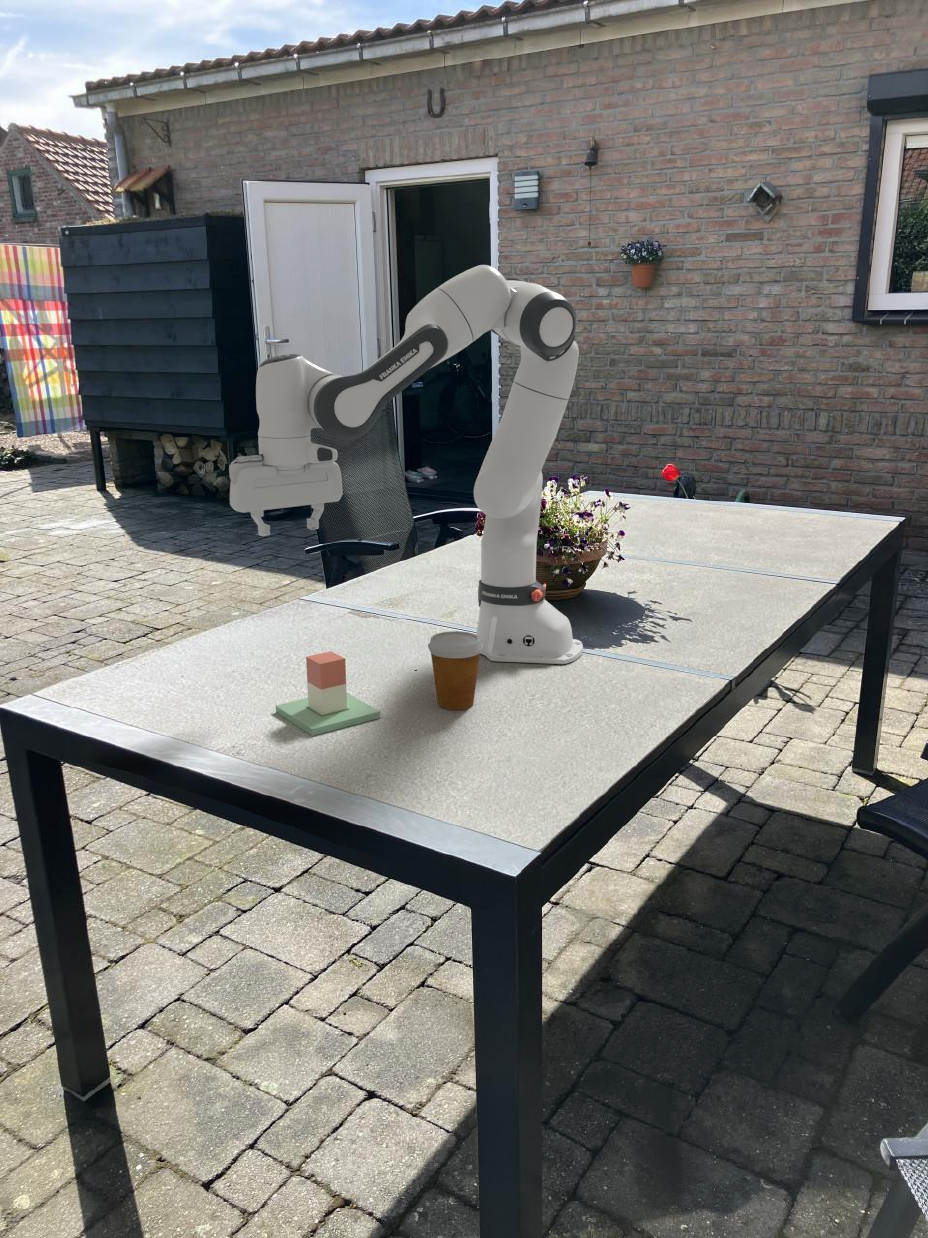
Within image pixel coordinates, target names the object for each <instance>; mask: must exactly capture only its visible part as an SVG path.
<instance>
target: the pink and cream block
mask: <svg viewBox="0 0 928 1238" xmlns="http://www.w3.org/2000/svg"><path fill="white" fill-rule="evenodd" d="M305 660H306V661H305V662H306V682H307V683H306V685H307V698H308V707H310V708H312V709H313V710H315V711H317V712H318V713H320V714H321V715H324V714H328V713H332V712H336V711H340V710H344V709H347V693H348V692H347V675H346V674H347V672H346V671H347V670H346V668H347V667H346V666H347V665H346V658H345V657H343V656H341V655H339V654H337V653H335V652H333V651H327V652H325V651H324V652H321V653H318V654H313V655H308V656H305Z"/></svg>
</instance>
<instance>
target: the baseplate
mask: <svg viewBox="0 0 928 1238" xmlns="http://www.w3.org/2000/svg"><path fill="white" fill-rule="evenodd" d="M346 693H347V709H344V710H340V711H336V712H332V713H328V714H324V715H321V714H320V713H318V712H317V711H315V710H313V709H312V708H310V707H308V697H306V698H301V699H297V700H292V701H289V702H284V703H280V704H276V705H275V713H277V714H279V715H280V716H281V717H283V718H285V719H286V720H287V721H289V722H290V723H292V724H294V725H295V726H297V727H298V728H299V729H302V730H303V731H304V732H306V733H307V734H309V735H310V736H312V737H314V736H317V735H318V736H319V735H321V734H326V733H328V732H332V731H333V732H334V731H336V730H337V731H338V730H340V729H344V728H348V727H351V726H352V727H353V726H355V725H358V724H362V723H366V722H367V723H368V722H371V721H373V720H378V719H381V711H380V710H379V709H377V708H375V707H373V706H371V705H369V704H368V703H366V702H364V701H362V700H360V699H359V698H357V697H355V696H354V695H351V694H350V693H348V692H346Z"/></svg>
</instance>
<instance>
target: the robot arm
mask: <svg viewBox="0 0 928 1238" xmlns="http://www.w3.org/2000/svg"><path fill="white" fill-rule="evenodd" d="M404 327H405V328H404V329H405V330H404V335H403V336H402V338H401V340H400V341H399V342H398V343H397V344H396V345H395V346H394V347H393V348H391V349H390V350H389V351H388V352H386V353H385V354H383V355H382V356H381V357H379V359H376V360H375V361H374V362H373V363H372V364H371V365H369V366H368V367H367V368H365V369H364V370H362V371H361V372H358V373H356V374H352V375H345V376H343V374H339V373H335V372H332V371H330V370H326V369H324V368H322V367H321V366H318V365H316V364H314V363H313V362H311V361H309V360H308V359H306V358H305V357H304V356H303V355H302V354H298V353H289V354H282V355H278V356H277V355H276V356H273V357H270V358H267V359H264V361H262V362H261V363H260V364H259V366H258V369H257V371H256V378H255V380H256V382H255V383H256V384H255V398H256V399H255V402H256V413H257V415H258V419H259V426H258V427H259V428H258V430H257V431H258V432H257V436H258V438H257V439H258V454H255V455H253V454H252V455H247V456H244V455H243V456H241V455H239V456H237V457H236V458H235V459H234V460H232V461H231V462H230V464H229V467H228V474H229V479H230V484H229V486H230V487H229V505H230V507H231V508H232V510H234V511H235V512H238V513H250V517H251V518H252V519H253V521H254V522H255V524H256V525H257V534H258V536H261V537H267V536H270V535H271V531H270V530H271V525H269V524H267V523H265V522H264V521H263V519H262V518H263V517H264V516H265V515H264V511H267V510H276V509H285V508H293V507H302V506H311V509H313V511H312V514H311V516H310V517H309V518H306V527H307V528H306V529H308V530H310V531H311V530H318V529H319V528H320V523H319V522H320V519H321V517H322V514H323V512H324V510H325V504H326V503H327V504H328V503H336V502H337V503H338V502H339V501H340V500H341V498H342V496H343V480H342V479H343V478H342V472H341V468H340V466H339V464H338V463H337V462H335V461H337V460H338V457H339V456H338V451H337V449H336V448H333V447H330V446H326V445H322V444H320V443H318V442H314V441H312V437H311V431H312V429H317V428H318V429H319V428H321V429H322V430H324V432H325V433H326V434H328V435H329V436H330V437H332V438H334V439H337V440H338V439H339V440H341V441H351V440H355V439H358V438H361V437H362V436H364V435H365V434H367V433H368V432H369V431H370V430H371V429H372V428H373V426H374V425H375V423H376V421H377V419H378V418H379V417H380V414H381V413H382V411H383V409H385V407H386V406H387V405H388V403H389V402H390V401H392V400H393V399H394V398H395V397H396V396H397V395H399V394H400V393H402V391H404V390H406V388H407V387H409V386H410V385H412V384H413V382H415V381H416V380H417V379H419V378H420V377H421V376H423V375H424V374H425V373H427V371H429V370H430V369H432V368H433V367H435V366H437V365H439V364H440V363H442V362H444V361H445V360H447V359H449V358H451V357H453V356H454V355H457V353H459V352H461V351H462V350H464V349H465V348H467V347H468V346H470V344H472V343H473V342H475V341H476V340H478V339H479V338H480V337H482V335H483V334H485V333H487V332H489V331H491V332H492V333H493V334H495V335H497V336H498V337H501V338H503V340H505V341H507V342H509V343H511V344H513V345H515V346H519V347H520V363H519V365H518V368H517V371H516V374H515V375H514V378H513V381H512V385H511V389H510V391H509V394H508V397H507V399H506V403H505V407H504V410H503V413H502V416H501V419H500V422H499V424H498V427H497V429H496V431H495V432H494V434H493V437H492V440H491V442H490V444H489V447H488V450H487V452H486V455H485V457H484V459H483V462H482V464H481V467H480V470H479V473H478V475H477V477H476V479H475V482H474V487H473V498H474V503H475V504H476V506H477V508H478V509H479V510H480V511H481V513H482V514H485V519H484V526H483V531H482V538H481V542H480V579H479V580H478V586H477V587H478V588H477V601H478V607H479V613H478V614H479V615H478V621H477V628H476V633H475V634H476V635H478V636H479V637H480V640H481V643H482V644H483V648H482V649H481V652H480V655H483V656H485V657H486V658H487V659H488V660H489V661H492V662H502V663H504V662H505V663H526V664H527V663H529V664H549V665H553V664H554V665H555V664H556V665H565V664H569V663H573V662H575V661H576V660H578V659H579V657H581V655H582V654H583V651H584V645H583V642H582V641H581V640H579V639H576V638H573V631H572V626H571V625H572V624H571V622H570V620H569V618H568V617H567V616H566V615H565V614H563V613H562V612H560V611H559V610H558V609H557V608H556V607H554V605H552V604H551V603H550V602H548V600H546V589H547V588H546V587H547V584H546V583H544V584H542V583H540V582H539V581H538V580H537V579H536V577H537V575H536V574H537V573H536V572H537V542H538V535H539V534H538V532H539V526H540V516H541V508H542V497H543V484H544V483H543V481H544V480H543V478H544V476H543V472H542V470H543V467H544V465H545V463H546V461H547V458H548V455H549V453H550V451H551V449H552V447H553V444H554V442H555V440H556V437H557V435H558V431H559V429H560V426H561V423H562V421H563V418H564V415H565V411H566V408H567V406H568V402H569V399H570V397H571V393H572V391H573V387H574V383H575V379H576V373H577V369H578V364H579V356H580V349H579V346H578V343H577V342H576V341H575V333H576V329H577V315H576V311H575V309H574V306H572V304H571V303H570V301H569V300H567V298H565V297H564V296H563V295H562V294H560V293H558V292H555V291H552V290H551V289H548V288H547V287H544V286H543V285H541V284H538V283H534V282H528V281H523V280H521V279H519V278H514V277H506V278H505V277H504V275H503V274H502V273H501V272H500V271H499V270H497V269H496V268H494V267H493V266H491V265H488V264H480V265H476V266H474V267H472V268H469V269H467V270H464V271H463V272H461V273H459V274H457V275H455V276H453V277H452V278H450V279H448V280H447V281H445V282H444V283H442V284H441V285H438V287H436V288H434V290H432V291H431V292H430V293H428V294H426V296H424V297H423V298H422V299H421V300H419V302H418V303H417V304H416V305H415V306H414V307H413V308H412V309H411V310H410V311H409V313H408V314H407V316H406V319H405V325H404Z"/></svg>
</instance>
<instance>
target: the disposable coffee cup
mask: <svg viewBox="0 0 928 1238" xmlns="http://www.w3.org/2000/svg"><path fill="white" fill-rule="evenodd" d="M429 640H430V641H429V643H428V645H427V649H428V650H429V652H430V658H431V664H432V670H433V671H432V672H433V677H434V684H435V685H434V687H435V691H436V698H437V699H436V700H437V705H438V707H440V708H442V709H445V710H452V711H458V710H465V709H469V708H471V707H472V706H473V705H474V703H475V702H474V701H475V693H476V686H477V680H478V679H477V678H478V671H479V663H480V657H481V654H480V652H481V649H482V648H483V644H482V643H481V640H480V637H479V636H478V635H476V633H472V632H467V631H459V630H458V631H444V632H443V631H442V632H439V633H435V634H434V635H432V636H431V637H430V639H429Z"/></svg>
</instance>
